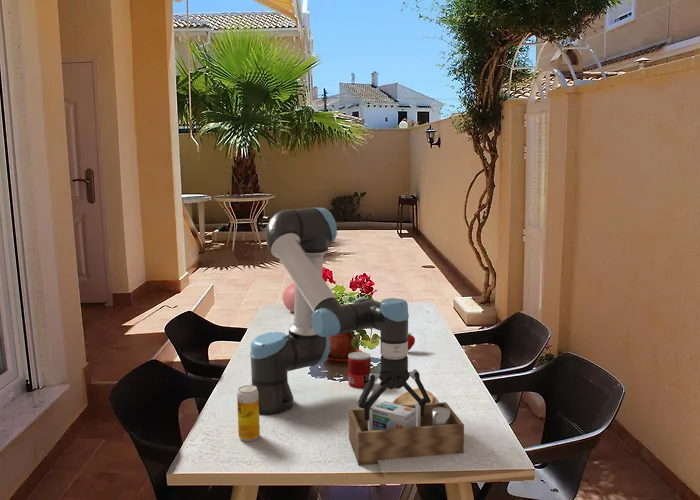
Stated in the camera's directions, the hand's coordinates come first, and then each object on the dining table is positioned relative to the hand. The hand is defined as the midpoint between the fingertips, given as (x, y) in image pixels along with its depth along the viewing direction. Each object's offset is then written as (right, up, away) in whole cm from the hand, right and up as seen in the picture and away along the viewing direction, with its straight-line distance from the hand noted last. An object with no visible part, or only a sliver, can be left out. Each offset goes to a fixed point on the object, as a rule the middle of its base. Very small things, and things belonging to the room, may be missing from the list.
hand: (394, 428), depth 178 cm
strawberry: (+11, +7, +85) cm, 86 cm away
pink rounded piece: (-37, +18, +152) cm, 158 cm away
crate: (+3, -6, +1) cm, 6 cm away
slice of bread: (+8, -1, +31) cm, 32 cm away
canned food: (-9, +2, +50) cm, 50 cm away
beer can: (-42, -5, +8) cm, 43 cm away
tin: (+13, -4, +3) cm, 14 cm away
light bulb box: (0, -5, +1) cm, 5 cm away
